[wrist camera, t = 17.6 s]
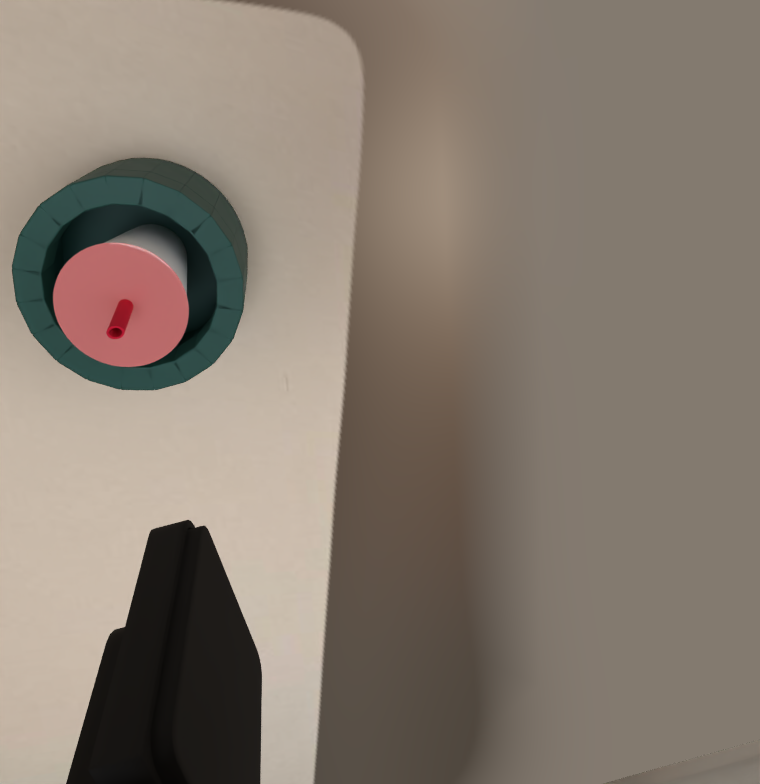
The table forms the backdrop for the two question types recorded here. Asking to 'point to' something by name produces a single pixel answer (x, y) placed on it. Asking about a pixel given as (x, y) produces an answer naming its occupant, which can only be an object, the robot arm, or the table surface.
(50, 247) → the teal pot
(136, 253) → the cup
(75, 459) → the table surface
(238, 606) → the robot arm
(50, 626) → the table surface
